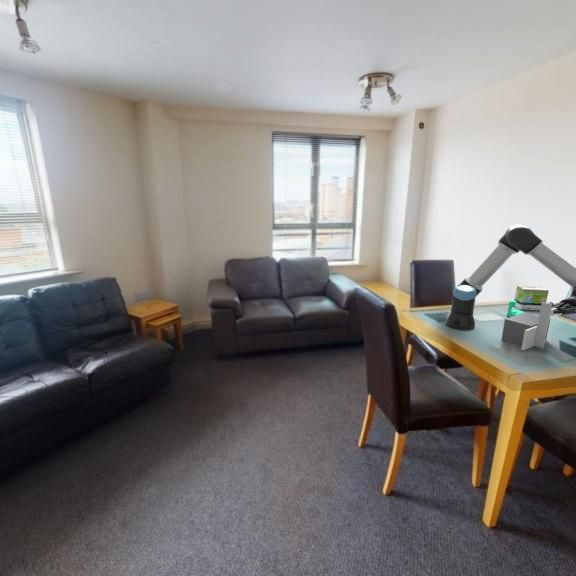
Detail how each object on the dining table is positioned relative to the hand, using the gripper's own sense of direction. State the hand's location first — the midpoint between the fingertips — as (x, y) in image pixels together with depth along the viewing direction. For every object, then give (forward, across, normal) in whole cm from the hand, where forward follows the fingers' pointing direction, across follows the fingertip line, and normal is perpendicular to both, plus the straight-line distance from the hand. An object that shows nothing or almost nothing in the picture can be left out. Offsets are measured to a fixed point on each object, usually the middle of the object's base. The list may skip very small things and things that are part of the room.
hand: (548, 312), depth 153 cm
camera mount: (-41, +32, -19) cm, 56 cm away
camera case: (-4, +10, -19) cm, 21 cm away
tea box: (-67, +36, -19) cm, 78 cm away
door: (+8, +1, -17) cm, 19 cm away
